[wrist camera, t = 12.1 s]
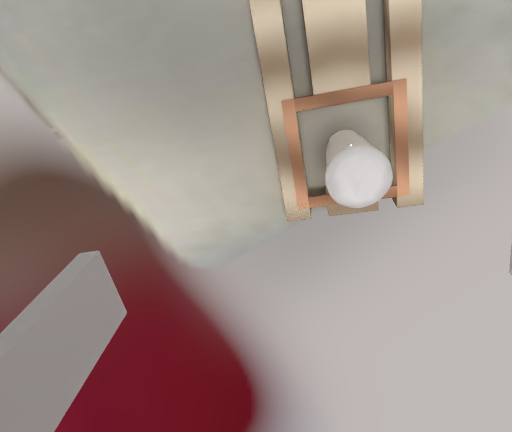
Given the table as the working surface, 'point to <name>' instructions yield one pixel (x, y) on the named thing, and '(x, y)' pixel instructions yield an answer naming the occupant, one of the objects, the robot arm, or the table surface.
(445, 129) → the table surface
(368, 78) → the wooden slide rule
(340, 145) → the milkshake
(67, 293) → the robot arm
